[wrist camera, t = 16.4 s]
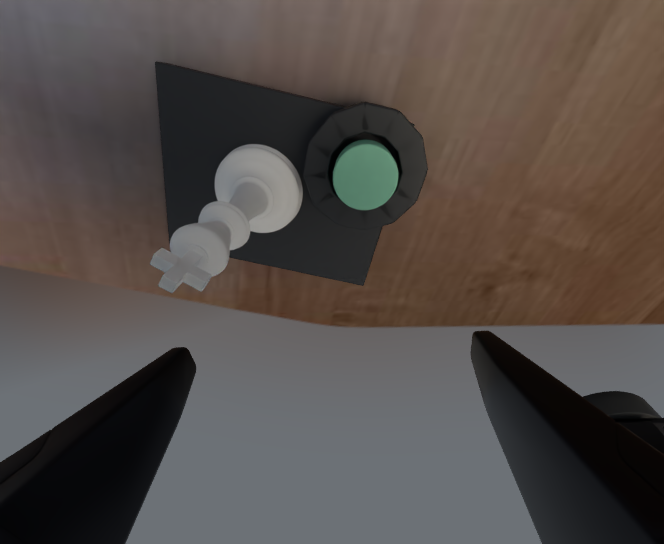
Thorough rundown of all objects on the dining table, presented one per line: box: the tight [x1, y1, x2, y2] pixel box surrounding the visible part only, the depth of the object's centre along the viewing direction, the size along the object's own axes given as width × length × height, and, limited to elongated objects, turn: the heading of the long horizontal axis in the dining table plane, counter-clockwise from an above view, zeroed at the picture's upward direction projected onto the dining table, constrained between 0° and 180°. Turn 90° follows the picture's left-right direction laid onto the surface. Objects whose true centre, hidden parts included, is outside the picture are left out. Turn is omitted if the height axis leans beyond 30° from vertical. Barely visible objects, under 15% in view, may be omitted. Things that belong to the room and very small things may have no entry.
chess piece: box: [150, 144, 303, 293], centre depth 13 cm, size 5×5×10 cm
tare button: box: [333, 139, 398, 210], centre depth 14 cm, size 3×3×2 cm
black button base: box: [155, 61, 428, 286], centre depth 17 cm, size 14×10×3 cm
